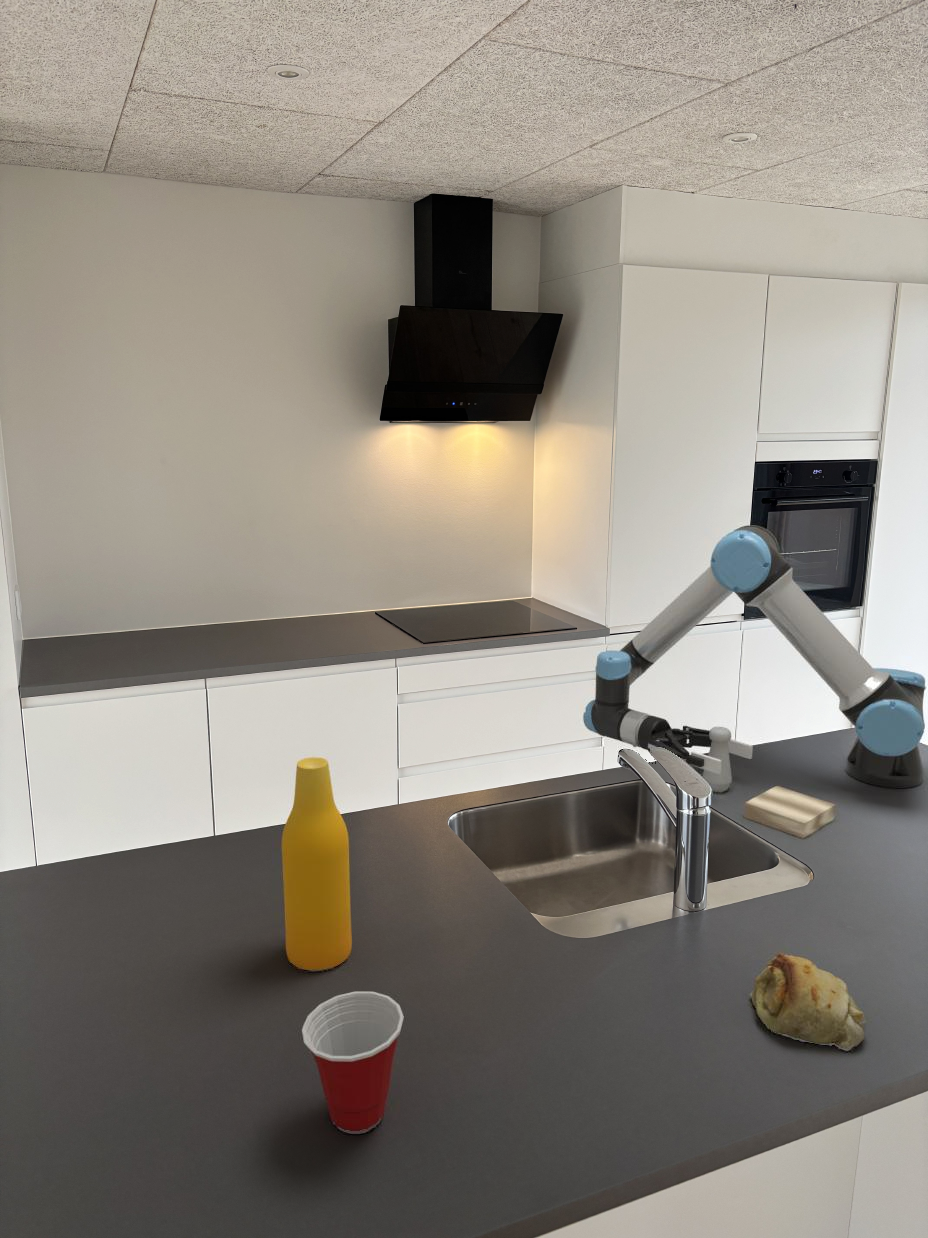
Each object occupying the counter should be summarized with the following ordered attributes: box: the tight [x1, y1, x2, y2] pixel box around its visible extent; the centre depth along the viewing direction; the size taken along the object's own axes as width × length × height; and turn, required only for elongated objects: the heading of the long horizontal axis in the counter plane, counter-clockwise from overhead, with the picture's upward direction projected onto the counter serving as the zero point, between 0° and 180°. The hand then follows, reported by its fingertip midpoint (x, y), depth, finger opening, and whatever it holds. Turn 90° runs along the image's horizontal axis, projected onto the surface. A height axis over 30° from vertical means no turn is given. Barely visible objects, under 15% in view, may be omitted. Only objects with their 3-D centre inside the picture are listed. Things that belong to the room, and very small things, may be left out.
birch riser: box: [743, 785, 836, 840], centre depth 171 cm, size 12×12×3 cm
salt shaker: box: [702, 726, 733, 793], centre depth 184 cm, size 6×6×13 cm
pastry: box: [749, 952, 867, 1050], centre depth 114 cm, size 14×12×8 cm
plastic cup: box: [301, 991, 404, 1131], centre depth 97 cm, size 11×11×12 cm
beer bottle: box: [281, 756, 353, 970], centre depth 125 cm, size 9×9×29 cm
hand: (736, 759), depth 181 cm, fingers open, 11 cm apart
